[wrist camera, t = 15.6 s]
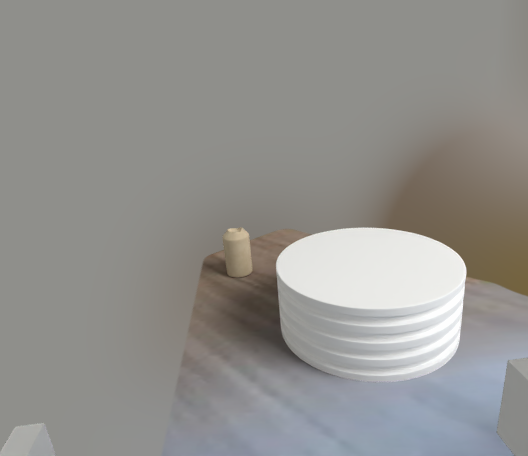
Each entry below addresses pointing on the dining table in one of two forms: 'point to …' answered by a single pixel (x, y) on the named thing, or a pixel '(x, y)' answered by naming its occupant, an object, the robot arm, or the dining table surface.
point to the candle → (237, 252)
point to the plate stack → (371, 303)
